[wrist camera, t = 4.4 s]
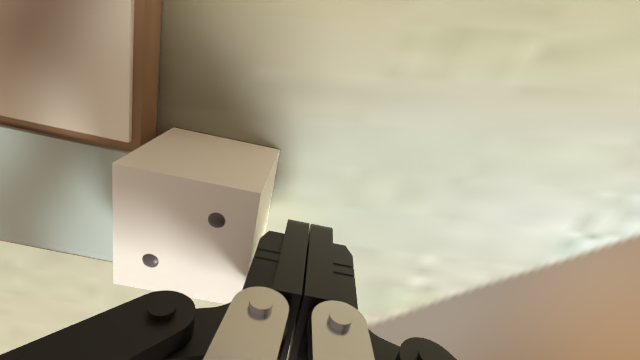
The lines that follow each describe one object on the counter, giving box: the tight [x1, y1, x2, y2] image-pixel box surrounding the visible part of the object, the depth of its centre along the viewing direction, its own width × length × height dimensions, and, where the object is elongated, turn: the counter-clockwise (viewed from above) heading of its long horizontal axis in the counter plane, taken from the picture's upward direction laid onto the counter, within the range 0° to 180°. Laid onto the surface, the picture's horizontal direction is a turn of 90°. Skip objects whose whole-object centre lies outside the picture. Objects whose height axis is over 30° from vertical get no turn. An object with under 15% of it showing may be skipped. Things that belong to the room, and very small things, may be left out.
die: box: [112, 127, 280, 304], centre depth 12 cm, size 4×4×4 cm
